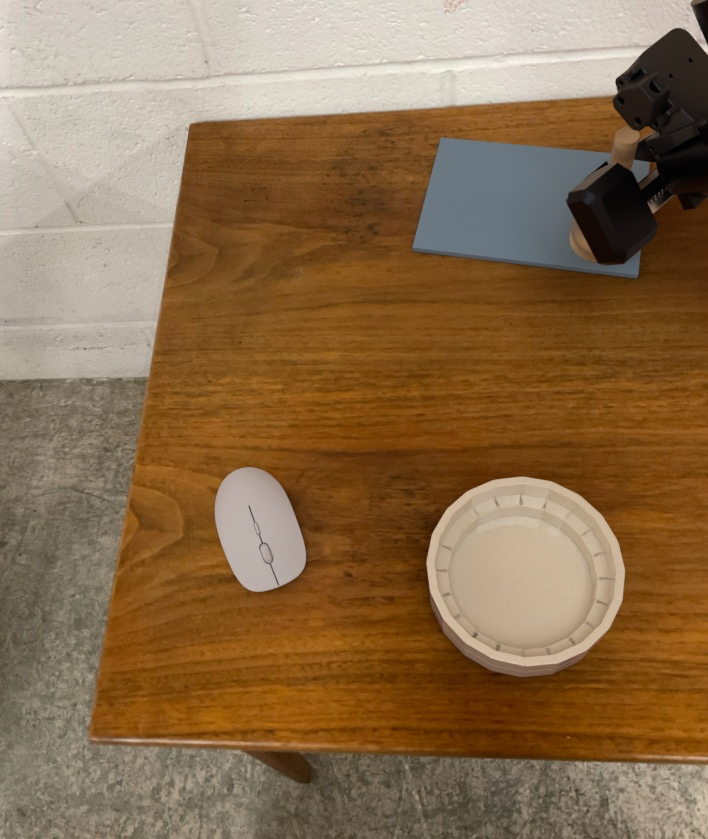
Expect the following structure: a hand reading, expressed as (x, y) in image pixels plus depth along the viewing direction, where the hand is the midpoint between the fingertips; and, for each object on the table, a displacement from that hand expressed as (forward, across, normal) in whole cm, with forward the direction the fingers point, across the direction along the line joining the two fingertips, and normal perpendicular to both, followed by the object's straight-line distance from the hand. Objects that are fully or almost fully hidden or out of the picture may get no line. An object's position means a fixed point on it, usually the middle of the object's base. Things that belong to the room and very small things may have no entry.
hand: (600, 178), depth 66 cm
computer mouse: (+4, +40, +6) cm, 40 cm away
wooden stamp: (+4, 0, +6) cm, 7 cm away
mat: (+9, +1, +1) cm, 9 cm away
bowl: (-8, +28, +18) cm, 34 cm away
